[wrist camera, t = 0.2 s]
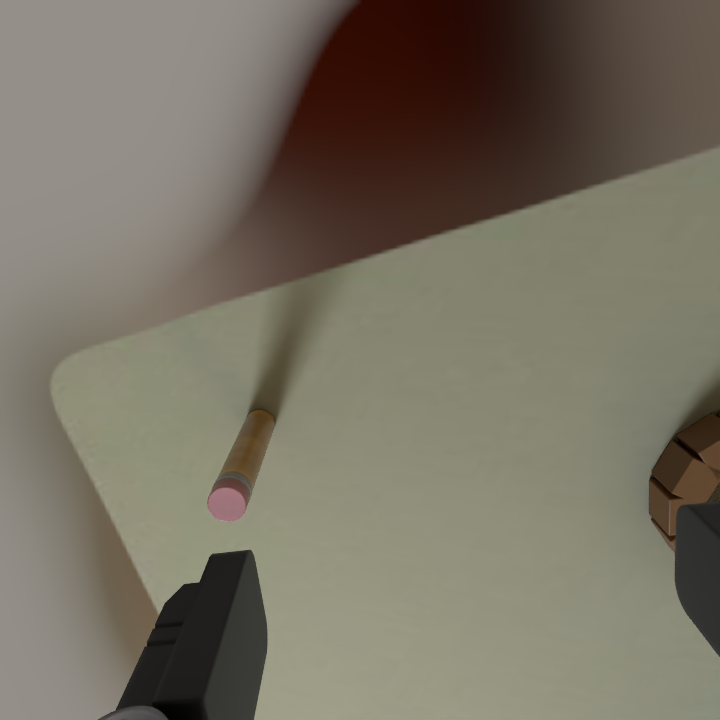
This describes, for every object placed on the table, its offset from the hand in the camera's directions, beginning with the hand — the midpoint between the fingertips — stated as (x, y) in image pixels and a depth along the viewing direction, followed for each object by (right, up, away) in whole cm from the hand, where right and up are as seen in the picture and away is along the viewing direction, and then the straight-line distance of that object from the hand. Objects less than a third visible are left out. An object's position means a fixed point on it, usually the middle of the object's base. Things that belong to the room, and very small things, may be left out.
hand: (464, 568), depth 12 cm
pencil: (-7, 0, +22) cm, 23 cm away
